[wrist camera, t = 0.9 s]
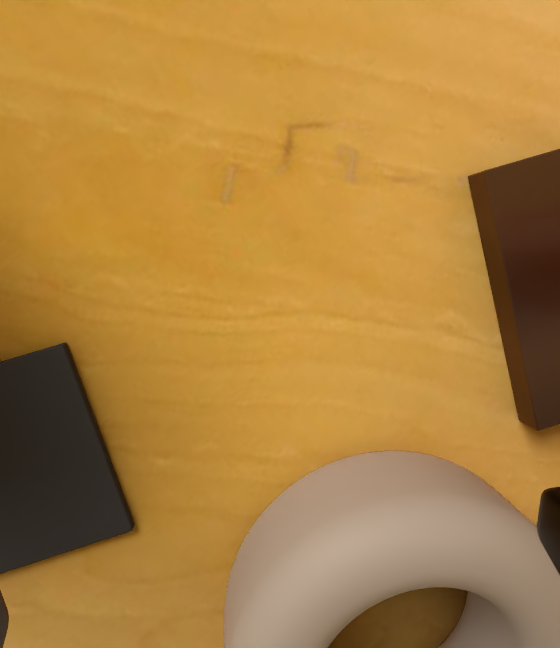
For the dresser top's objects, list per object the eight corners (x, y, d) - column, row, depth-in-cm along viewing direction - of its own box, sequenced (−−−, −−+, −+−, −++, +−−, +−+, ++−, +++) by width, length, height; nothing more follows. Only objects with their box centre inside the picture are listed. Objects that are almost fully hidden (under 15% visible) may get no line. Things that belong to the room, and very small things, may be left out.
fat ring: (163, 632, 23) (137, 783, 16) (345, 381, 22) (395, 435, 16) (401, 759, 26) (461, 934, 19) (572, 539, 25) (697, 641, 18)
